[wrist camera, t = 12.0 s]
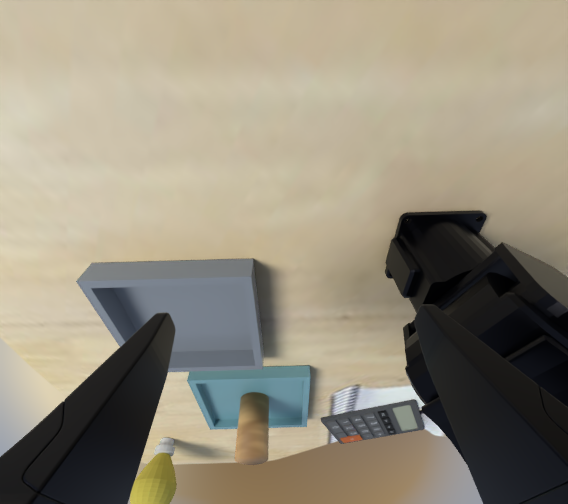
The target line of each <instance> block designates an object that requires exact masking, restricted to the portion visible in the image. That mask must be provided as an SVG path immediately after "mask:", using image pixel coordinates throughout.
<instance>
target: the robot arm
mask: <svg viewBox="0 0 568 504" xmlns="http://www.w3.org/2000/svg"><path fill="white" fill-rule="evenodd" d="M479 216H480V217H479ZM478 217H479V218H478ZM486 217H487V216H486V214H484V213H483V212H482V211H452V212H415V213H405V214H403V215H402V216H401V217H400V219H399V223H398V226H397V230H396V234H395V237H394V238H393V239H392V240H391V244H390V248H389V252H388V255H387V259H386V265H387V266H386V270H385V274H386V276H387V278H393V279H394V281H395V283H396V285H397V287H398V289H399V291H400V293H401V295H402V296H403V297H404V298H409V299H410V301H411V303H412V305H413V307H414V309H415V311H416V313H417V315H416V317H415V320H414V321H413V322H411V323H408V324H407V325H406V326H405V327H403V332H404V341H405V353H406V361H407V366H406V368H405V369H406V374H407V376H408V378H409V380H410V382H411V385H412V387H413V388H414V390H415V392H416V393H417V395H418V396H419V398H420V399H421V400H422V401H423V403H424V404H425V405H424V406H422V411H423V413H424V414H425V415H426V416H428V417H429V418H430V419H431V420H432V421H433V422H434V423H435V424H436V425H438V426H439V428H440V429H441V430H442V431H443V432H444V433H445V435H446V436H447V437H448V438H449V439H450V440H451V441H452V443H453V444H454V446H455V447H456V449H457V450H458V452H459V453H460V454H461V456H462V457H463V459H464V461H465V462H466V464H467V465H468V467H469V470H470V472H471V475H472V477H473V480H474V482H475V485H476V487H477V489H478V492H479V494H480V497H481V499H482V501H483V504H568V277H566V276H565V275H563V274H562V273H561V272H559V271H558V270H557V269H555V268H554V267H552V266H550V265H548V264H546V263H544V262H542V261H540V260H538V259H536V258H534V257H532V256H530V255H528V254H526V253H524V252H522V251H519V250H517V249H515V248H513V247H511V246H509V245H507V244H505V243H503V242H502V243H500V244H499V245H498V246H497V247H496V248H494V247H493V246H492V245H491V244H490V243H489V242H488V241H487V240H486V239H485V238H484V237H483V236H482V235H480V234H479V232H480V230H481V228H482V226H483V224H484V222H485V220H486ZM407 218H409V220H407V221H405V220H406V219H407ZM477 218H478V219H477ZM175 331H176V330H175V325H174V323H173V320H172V318H171V316H170V314H169V313H167V312H163V313H156V314H155V315H154V316H152V317H151V318H150V319H149V320H148V321H147V322H146V323H145V324H144V325H143V326H142V327H141V328H140V329H139V330H138V331H137V332H136V333H135V334H133V335H132V336H131V337H130V338H129V339H128V340H127V341H126V342H125V343H124V344H123V345H122V346H121V347H120V348H119V349H118V350H117V351H116V352H114V353H113V354H112V355H111V356H110V357H109V358H108V359H107V360H106V361H105V362H104V363H103V364H102V365H101V366H100V367H99V368H98V369H96V370H95V371H94V372H93V373H92V374H91V375H90V376H89V377H88V378H87V379H86V380H85V381H84V382H83V383H82V384H81V385H80V386H79V387H77V388H76V389H75V390H74V391H73V392H72V393H71V394H70V395H69V396H68V397H67V398H66V399H65V401H64V402H62V403H60V404H59V405H58V406H57V407H56V408H55V409H54V410H53V411H52V412H51V413H50V414H49V415H48V416H47V417H46V418H44V419H43V420H42V421H41V422H40V423H39V424H38V425H37V426H36V427H35V428H33V429H32V430H31V431H30V432H29V433H28V434H27V435H25V436H24V437H23V438H22V439H21V440H20V441H19V442H17V443H16V444H15V445H14V446H13V447H12V448H10V449H9V450H8V451H7V452H6V453H4V454H3V455H2V456H1V457H0V504H127V503H128V500H129V497H130V494H131V491H132V487H133V484H134V481H135V477H136V474H137V471H138V468H139V464H140V461H141V458H142V455H143V452H144V448H145V445H146V442H147V439H148V435H149V432H150V429H151V426H152V422H153V419H154V416H155V413H156V409H157V406H158V403H159V400H160V397H161V393H162V390H163V387H164V384H165V380H166V377H167V373H168V368H169V363H170V358H171V353H172V348H173V342H174V337H175Z"/></svg>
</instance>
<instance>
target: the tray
mask: <svg viewBox="0 0 568 504" xmlns="http://www.w3.org/2000/svg"><path fill="white" fill-rule="evenodd" d="M187 381H188V383H189V385H190V388H191V390H192V392H193V394H194V396H195V398H196V400H197V402H198V404H199V407H200V409H201V411H202V413H203V415H204V417H205V419H206V421H207V424H208V426H209V428H210V429H238V420H239V410H240V400H241V397H242V396H243V395H244V394H246V393H250V392H259V393H263V394H265V395H267V396H268V397H269V428H278V427H307V417H308V404H309V390H310V367H309V366H275V367H263V369H259V370H223V371H190V372H189V376H188V380H187Z"/></svg>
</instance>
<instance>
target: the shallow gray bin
mask: <svg viewBox="0 0 568 504" xmlns="http://www.w3.org/2000/svg"><path fill="white" fill-rule="evenodd" d="M76 282H77V283H78V285H79V286H80V288H81V289H82V291H83V292H84V294H85V295H86V297H87V298H88V300H89V301H90V303H91V304H92V306H93V307H94V309H95V310H96V312H97V313H98V315H99V316H100V318H101V319H102V321H103V322H104V324H105V325H106V327H107V328H108V330H109V331H110V333H111V334H112V336H113V337H114V339H115V340H116V342H117V343H118V345H119V346H120V347H121V346H122V345H123V344H124V343H125V342H126V341H127V340H128V339H129V338H130V337H131V336H132V335H133V334H135V333H136V332H137V331H138V330H139V329H140V328H141V327H142V326H143V325H144V324H145V323H146V322H147V321H148V320H149V319H150V318H151V317H152V316H154V315H155V314H156V313H163V312H167V313H169V314H170V316H171V318H172V320H173V323H174V325H175V330H176V331H175V337H174V342H173V348H172V353H171V358H170V363H169V368H168V372H188V371H223V370H259V369H263V360H264V347H263V339H262V330H261V321H260V313H259V304H258V295H257V287H256V278H255V269H254V260H253V259H221V260H184V261H148V262H111V263H92V264H91V265H90V266H89V267H88V268H87V269H86V271H85V272H84V273H83V274H82V275H81V276H80V278H79V279H78V280H77V281H76Z"/></svg>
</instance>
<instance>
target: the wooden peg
mask: <svg viewBox="0 0 568 504" xmlns="http://www.w3.org/2000/svg"><path fill="white" fill-rule="evenodd" d="M268 431H269V397H268V396H267V395H265V394H263V393H259V392H250V393H246V394H244V395H243V396H242V397H241V400H240V410H239V420H238V430H237V440H236V451H235V461H236V462H238V463H241V464H247V465H255V464H261V463H264V462H266V461H267V460H268Z"/></svg>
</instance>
